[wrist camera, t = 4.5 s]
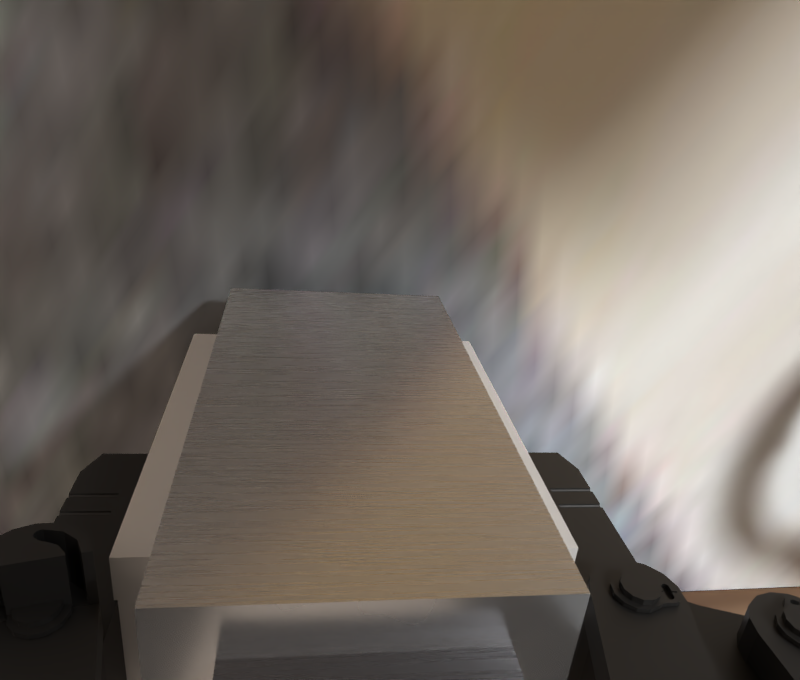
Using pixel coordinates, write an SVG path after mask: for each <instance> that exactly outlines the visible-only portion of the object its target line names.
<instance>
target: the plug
mask: <svg viewBox="0 0 800 680" xmlns="http://www.w3.org/2000/svg"><path fill="white" fill-rule="evenodd" d="M589 597H590V592H589V590H588V588H587V586H586V584H585V582H584V580H583V578H582V576H581V574H580V572H579V570H578V568H577V566H576V564H575V562H574V560H573V558H572V556H571V554H570V552H569V550H568V549H567V547H566V545H565V543H564V541H563V539H562V537H561V535H560V533H559V531H558V529H557V527H556V525H555V523H554V521H553V519H552V517H551V515H550V513H549V511H548V509H547V507H546V506H545V504H544V502H543V500H542V498H541V496H540V494H539V492H538V490H537V488H536V486H535V484H534V482H533V480H532V478H531V476H530V474H529V472H528V470H527V468H526V466H525V464H524V463H523V461H522V459H521V457H520V455H519V453H518V451H517V449H516V447H515V445H514V443H513V441H512V439H511V437H510V435H509V433H508V431H507V429H506V427H505V425H504V423H503V421H502V419H501V418H500V416H499V414H498V412H497V410H496V408H495V406H494V404H493V402H492V400H491V398H490V396H489V394H488V392H487V390H486V388H485V386H484V384H483V382H482V380H481V378H480V376H479V375H478V373H477V371H476V369H475V367H474V365H473V363H472V361H471V359H470V357H469V355H468V353H467V351H466V349H465V347H464V345H463V343H462V341H461V339H460V337H459V335H458V333H457V332H456V330H455V328H454V326H453V324H452V322H451V320H450V318H449V316H448V314H447V312H446V310H445V308H444V306H443V304H442V302H441V300H440V298H439V296H419V295H394V294H368V293H343V292H317V291H292V290H266V289H241V288H231V290H230V293H229V297H228V300H227V303H226V306H225V310H224V313H223V316H222V320H221V323H220V326H219V330H218V333H217V336H216V340H215V343H214V346H213V350H212V353H211V356H210V359H209V363H208V366H207V369H206V373H205V376H204V379H203V383H202V386H201V389H200V393H199V396H198V399H197V403H196V406H195V409H194V412H193V416H192V419H191V422H190V426H189V429H188V432H187V436H186V439H185V442H184V446H183V449H182V452H181V456H180V459H179V462H178V465H177V469H176V472H175V475H174V479H173V482H172V485H171V489H170V492H169V495H168V499H167V502H166V505H165V509H164V512H163V515H162V518H161V522H160V525H159V528H158V532H157V535H156V538H155V542H154V545H153V548H152V552H151V555H150V558H149V562H148V565H147V568H146V571H145V575H144V578H143V581H142V585H141V588H140V591H139V595H138V598H137V601H136V605H135V608H134V611H135V621H136V631H137V641H138V651H139V661H140V671H141V680H567V678H568V674H569V670H570V667H571V663H572V659H573V656H574V652H575V649H576V645H577V641H578V638H579V634H580V630H581V627H582V623H583V619H584V616H585V612H586V608H587V605H588V601H589Z"/></svg>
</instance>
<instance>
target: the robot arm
mask: <svg viewBox="0 0 800 680" xmlns="http://www.w3.org/2000/svg"><path fill="white" fill-rule="evenodd" d="M216 336H217V334H194V336H193V338H192V341H191V343H190V346H189V349H188V351H187V354H186V357H185V359H184V362H183V364H182V367H181V370H180V372H179V375H178V378H177V380H176V383H175V385H174V388H173V391H172V393H171V396H170V399H169V401H168V404H167V406H166V409H165V412H164V414H163V417H162V420H161V422H160V425H159V427H158V430H157V433H156V435H155V438H154V441H153V443H152V446H151V448H150V451H149V454H102V455H101V456H100V457H98V458H97V459H96V460H95V461H93V462H92V463H91V464H90V465H89V466H87V467H86V468H85V469H84V470H82V471H81V472H80V474H79V476H78V477H77V479H76V481H75V483H74V485H73V487H72V489H71V491H70V493H69V498H67V499H66V501H65V502H64V504H63V506H62V508H61V510H60V515H59V516H57V518H56V520H55V522H54V523H42V524H33V525H29V526H25V527H21V528H17V529H13V530H11V531H9V532H7V533H5V534H3V535H1V536H0V680H141V671H140V661H139V651H138V641H137V631H136V621H135V611H134V608H135V605H136V601H137V598H138V595H139V591H140V588H141V585H142V581H143V578H144V575H145V571H146V568H147V565H148V562H149V558H150V555H151V552H152V548H153V545H154V542H155V538H156V535H157V532H158V528H159V525H160V522H161V518H162V515H163V512H164V509H165V505H166V502H167V499H168V495H169V492H170V489H171V485H172V482H173V479H174V475H175V472H176V469H177V465H178V462H179V459H180V456H181V452H182V449H183V446H184V442H185V439H186V436H187V432H188V429H189V426H190V422H191V419H192V416H193V412H194V409H195V406H196V403H197V399H198V396H199V393H200V389H201V386H202V383H203V379H204V376H205V373H206V369H207V366H208V363H209V359H210V356H211V353H212V350H213V346H214V343H215V340H216ZM462 343H463V345H464V347H465V349H466V351H467V353H468V355H469V357H470V359H471V361H472V363H473V365H474V367H475V369H476V371H477V373H478V375H479V376H480V378H481V380H482V382H483V384H484V386H485V388H486V390H487V392H488V394H489V396H490V398H491V400H492V402H493V404H494V406H495V408H496V410H497V412H498V414H499V416H500V418H501V419H502V421H503V423H504V425H505V427H506V429H507V431H508V433H509V435H510V437H511V439H512V441H513V443H514V445H515V447H516V449H517V451H518V453H519V455H520V457H521V459H522V461H523V463H524V464H525V466H526V468H527V470H528V472H529V474H530V476H531V478H532V480H533V482H534V484H535V486H536V488H537V490H538V492H539V494H540V496H541V498H542V500H543V502H544V504H545V506H546V507H547V509H548V511H549V513H550V515H551V517H552V519H553V521H554V523H555V525H556V527H557V529H558V531H559V533H560V535H561V537H562V539H563V541H564V543H565V545H566V547H567V549H568V550H569V552H570V554H571V556H572V558H573V560H574V562H575V564H576V566H577V568H578V570H579V572H580V574H581V576H582V578H583V580H584V582H585V584H586V586H587V588H588V590H589V592H590V597H589V601H588V605H587V608H586V612H585V616H584V619H583V623H582V627H581V630H580V634H579V638H578V641H577V645H576V649H575V652H574V656H573V659H572V663H571V667H570V670H569V674H568V678H567V680H800V598H799V597H796V596H793V595H790V594H785V593H775V592H768V593H764V594H760V595H757V596H756V597H755V598H754V599H753V600H752V601H751V603H750V604H749V606H748V608H747V611H746V613H745V615H740V614H736V613H731V612H727V611H722V610H718V609H714V608H709V607H705V606H700V605H697V604H694V603H691V602H687V600H686V599H685V597H684V596H683V594H682V592H681V591H680V589H679V588H678V586H677V585H675V584H674V583H673V582H672V581H671V580H670V579H668V578H667V577H666V576H665V575H664V574H662V573H660V572H658V571H657V570H655V569H653V568H651V567H649V566H647V565H644V564H641V563H637V562H636V561H635V559H634V558H633V556H632V554H631V553H630V551H629V550H628V548H627V546H626V545H625V543H624V542H623V540H622V538H621V537H620V535H619V534H618V532H617V530H616V529H615V527H614V526H613V524H612V522H611V521H610V519H609V518H608V516H607V514H606V513H605V511H604V510H603V508H600V503H599V502H598V500H597V498H596V497H595V495H594V494H593V492H590V487H589V486H588V484H587V482H586V481H585V479H584V478H583V476H582V474H581V473H580V471H579V470H578V469H577V468H576V467H575V466H574V465H572V464H571V463H570V462H569V461H567V460H566V459H565V458H563V457H562V456H561V455H560V454H558V453H528V452H527V450H526V448H525V446H524V444H523V442H522V440H521V438H520V437H519V435H518V433H517V431H516V429H515V427H514V425H513V423H512V421H511V420H510V418H509V416H508V414H507V412H506V410H505V408H504V406H503V404H502V403H501V401H500V399H499V397H498V395H497V393H496V391H495V389H494V387H493V386H492V384H491V382H490V380H489V378H488V376H487V374H486V372H485V370H484V369H483V367H482V365H481V363H480V361H479V359H478V357H477V355H476V353H475V352H474V350H473V348H472V346H471V344H470V342H469V341H462Z"/></svg>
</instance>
